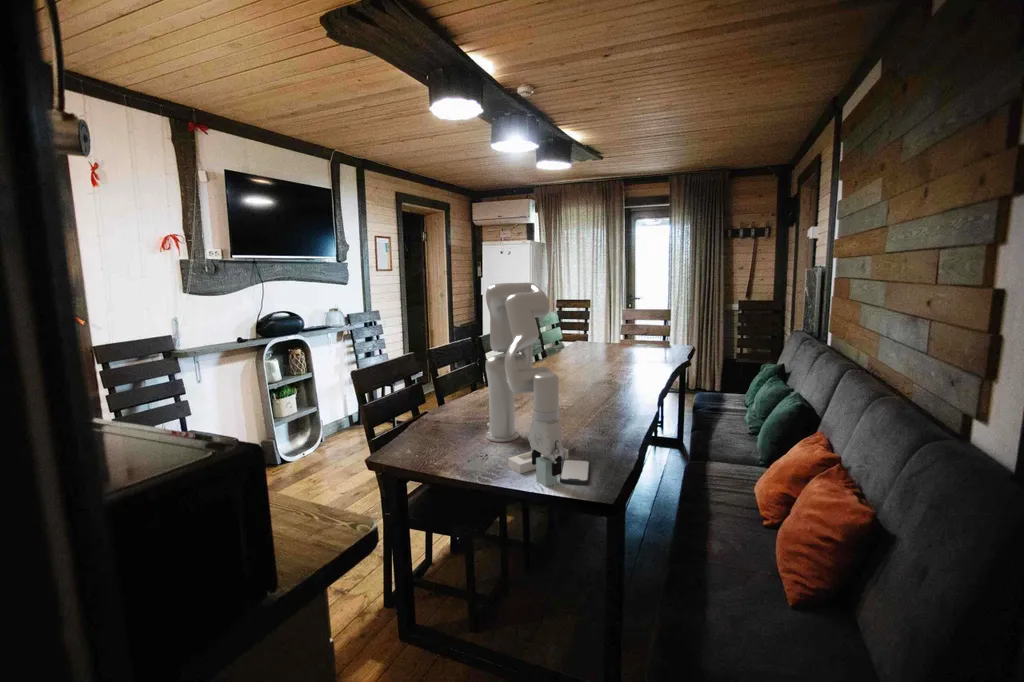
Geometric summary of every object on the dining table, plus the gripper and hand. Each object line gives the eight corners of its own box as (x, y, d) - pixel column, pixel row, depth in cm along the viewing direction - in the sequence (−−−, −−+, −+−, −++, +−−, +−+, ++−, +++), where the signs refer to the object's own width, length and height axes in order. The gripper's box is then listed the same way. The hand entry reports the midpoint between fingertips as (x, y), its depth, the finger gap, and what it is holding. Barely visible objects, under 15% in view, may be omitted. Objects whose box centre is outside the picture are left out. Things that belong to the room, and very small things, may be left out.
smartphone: (563, 463, 165) (558, 484, 150) (563, 459, 165) (558, 479, 149) (590, 465, 164) (588, 486, 148) (590, 460, 163) (588, 481, 148)
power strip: (508, 466, 162) (508, 456, 162) (569, 448, 177) (569, 438, 176) (519, 473, 157) (519, 462, 156) (581, 454, 171) (581, 444, 171)
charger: (536, 481, 151) (536, 457, 150) (548, 477, 154) (547, 454, 152) (545, 487, 147) (545, 462, 146) (557, 482, 150) (557, 459, 149)
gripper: (518, 409, 152) (519, 462, 155) (554, 424, 138) (554, 482, 141) (538, 405, 156) (538, 456, 159) (575, 419, 142) (574, 475, 145)
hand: (546, 469), depth 150 cm, fingers open, 9 cm apart
